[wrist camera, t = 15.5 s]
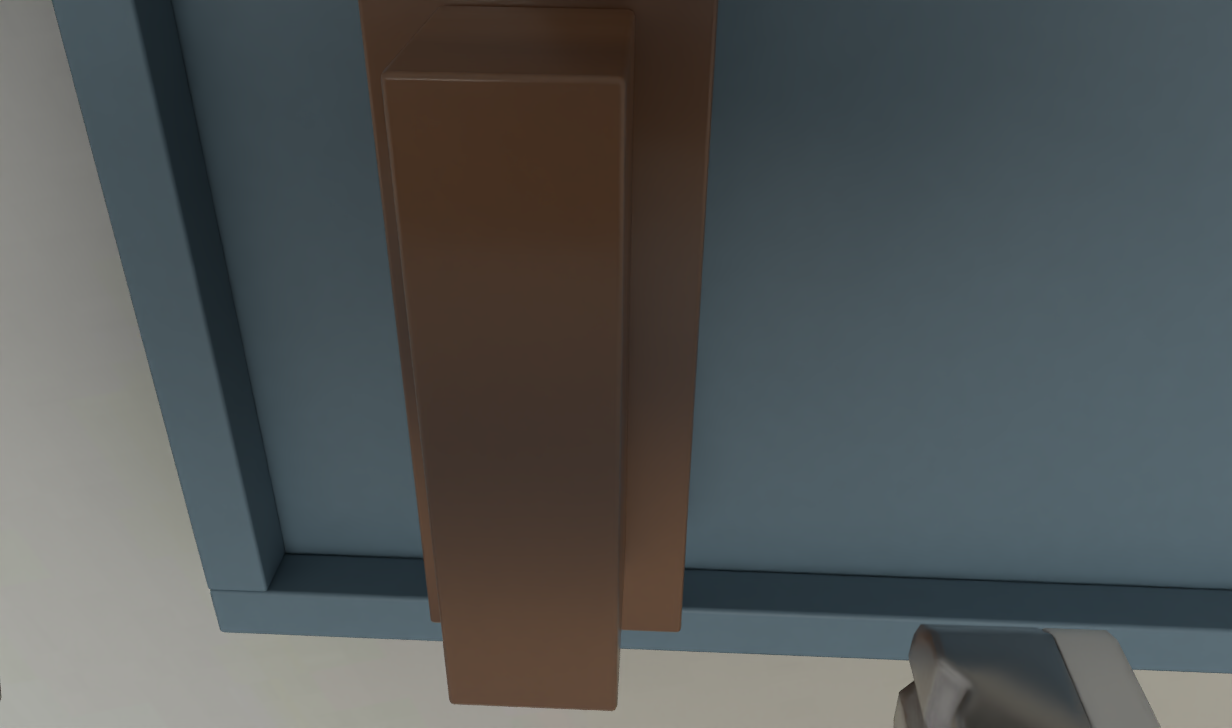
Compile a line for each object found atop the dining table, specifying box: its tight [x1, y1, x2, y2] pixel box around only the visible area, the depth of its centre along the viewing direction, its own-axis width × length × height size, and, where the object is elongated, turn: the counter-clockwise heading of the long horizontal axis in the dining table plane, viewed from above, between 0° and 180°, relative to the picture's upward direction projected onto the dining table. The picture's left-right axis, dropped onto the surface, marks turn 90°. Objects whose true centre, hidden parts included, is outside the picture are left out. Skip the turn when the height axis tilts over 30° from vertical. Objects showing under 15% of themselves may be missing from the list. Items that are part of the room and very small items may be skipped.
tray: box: [52, 0, 1232, 674], centre depth 17 cm, size 17×22×2 cm
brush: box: [358, 0, 719, 711], centre depth 15 cm, size 12×4×6 cm, turn 179°
